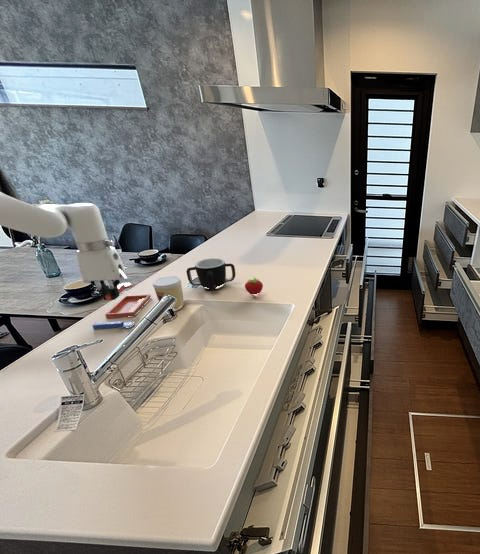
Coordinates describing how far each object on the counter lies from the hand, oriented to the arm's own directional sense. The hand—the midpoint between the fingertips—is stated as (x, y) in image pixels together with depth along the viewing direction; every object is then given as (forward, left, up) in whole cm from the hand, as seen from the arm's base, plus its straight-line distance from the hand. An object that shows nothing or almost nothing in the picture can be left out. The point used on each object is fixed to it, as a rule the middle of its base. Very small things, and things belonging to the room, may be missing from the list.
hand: (111, 297), depth 100 cm
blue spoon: (-5, +5, -14) cm, 16 cm away
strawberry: (+41, +22, -14) cm, 49 cm away
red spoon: (0, +4, 0) cm, 5 cm away
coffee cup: (+10, +17, -14) cm, 24 cm away
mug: (+21, +35, -14) cm, 44 cm away
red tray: (-6, +19, -14) cm, 24 cm away
